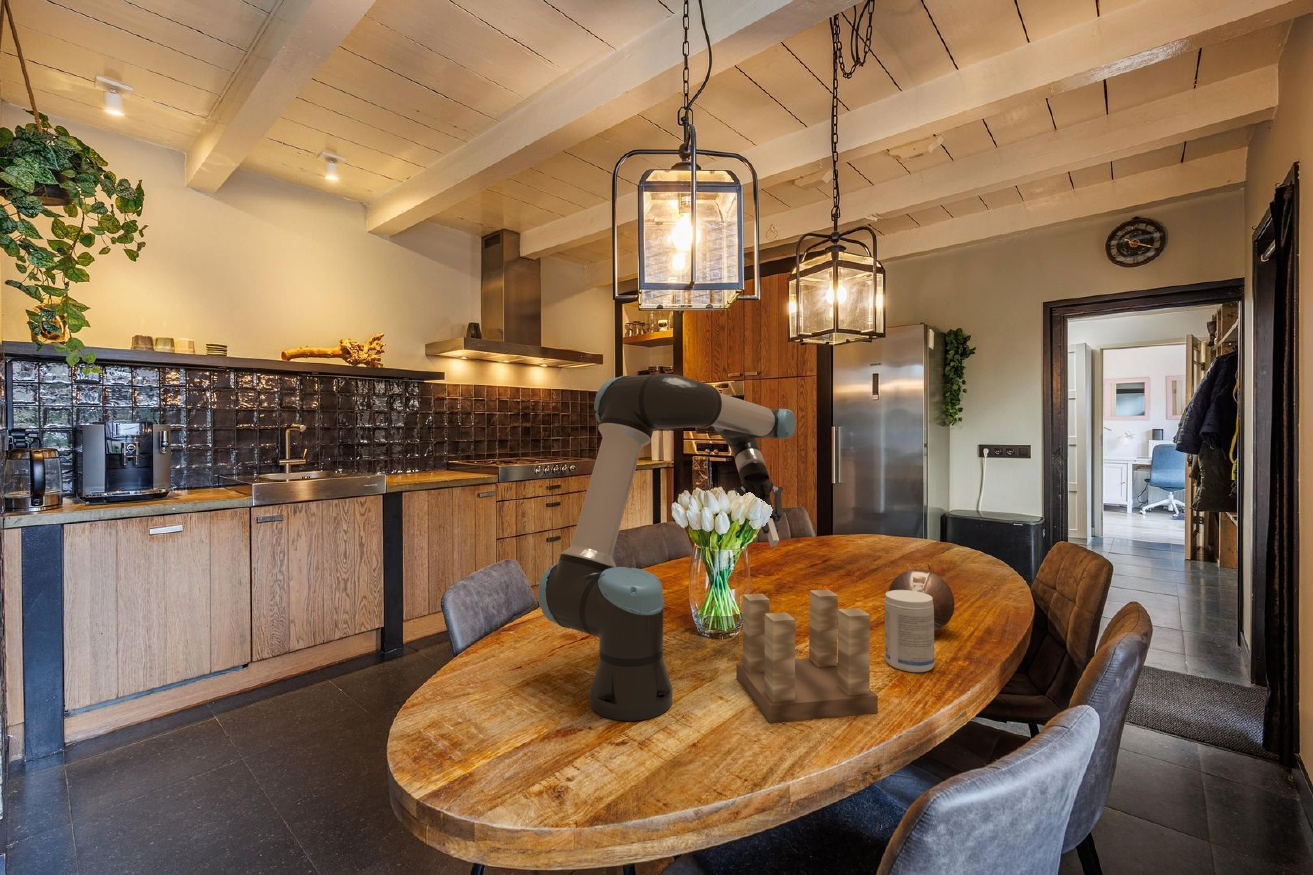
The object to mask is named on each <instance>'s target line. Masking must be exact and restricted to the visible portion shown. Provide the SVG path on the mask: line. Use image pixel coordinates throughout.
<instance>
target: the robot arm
mask: <svg viewBox="0 0 1313 875" xmlns="http://www.w3.org/2000/svg"><path fill="white" fill-rule="evenodd" d="M593 405H594V406H593V409H594V411H595V418H596V421H597V422H598V427H597V428H598V432H600V435H601V437H602V438H601V443H600V445H599V449H598V452H597V455H596V456H597V457H596V460H595V463H594V466H593V470H592V473H591V475H590V476H591V477H590V479H589V483H588V487H587V490H586V493H585V497H584V501H583V504H582V507H581V511H580V514H579V517H578V520H577V523H576V524H577V525H576V526H575V527H576V529H575V531H574V535H573V537H572V542H571V545H570V546H569V547H568V548H566V549H565V550H563V551H561V553H560V556H559V559H558V562H557V563H555V564H553V565H551V566H549V567H548V569H547V570H545V571H544V572H543V574H542V576H541V578H540V580H539V584H538V588H537V602H538V605H539V607H540V609H541V612H542V614H543V616H544V617H545V619H547V620H549V622H551V623H555V624H556V625H558V626H560V627H562V628H564V629H572V630H574V631H578V632H581V633H584V634H587V635H591V636H594V637H597V638H599V640H598V641H599V642H598V643H599V645H598V646H599V657H598V658H599V660H598V664H597V667H596V668H595V672H594V676H593V678H592V682H591V685H590V688H589V705H590V707H591V709H592V711H594V712H595V713H596V714H598V715H600V716H602V717H605V718H607V719H610V720H616V721H617V720H618V721H624V722H626V721H627V722H628V721H629V722H632V721H635V722H636V721H642V720H649V719H652V718H655V717H657V716H658V717H659V716H660V715H663V714H664V713H665V712H667V711H668V710H670V707H671V706H672V705H673V700H674V699H673V696H674V695H673V692H674V691H673V686H672V683H671V680H670V677H669V674H668V670H667V667H666V664H665V660H664V607H665V600H664V596H663V593H664V592H663V585H662V582H661V580H660V579H659V578H658V577H657V575H655V574H654V573H652V572H650V571H647V570H644V569H642V568H637V567H627V566H617V565H616V562H615V561H614V559H613V555H614V551H615V547H616V543H617V539H618V537H619V533H620V529H621V525H622V521H623V519H624V518H623V517H624V513H625V509H626V507H627V503H628V498H629V495H630V492H631V487H632V483H633V480H634V477H635V473H636V469H637V467H638V462H639V458H640V454H641V450H642V448H644V447H646V446H647V445H649V444H650V443H651V441H652V437H653V433H654V430H671V429H672V430H673V429H681V428H683V429H684V428H695V429H706V428H709V427H712V428H713V429H714V431H715V432H717V433H718V435H719V436H720V437H721V438H722V439H723V441H724V442H725V443H726V444H727V445H728V446H727V447H729V448H730V450H731V452H732V455H733V458H734V462H735V465H736V469H737V472H738V476H739V478H740V483H741V487H736V489H735V492H737V493H739V494H740V496H743V495H744V494H745V493H748V492H751V493H753V494H754V495H755V496H756V497H758V498H760V499H762V500H763V501H765V502H766V503H767V504H768V505H771V507H772V509H773V511H772V514H771V516H770V520H769V521H768V522H767V523H766V525H765V526H764V527H762V528H761V530H762V533H763V534H765V535H766V537H767V540H768V543H769V547H770V548H773V547H774V548H775V547H777V546H778V544H779V542H780V538H779V535H778V532H779V530H780V528H779V525H778V522H780V520H781V518H782V516H783V507H782V506H783V505H782V492H783V490H784V488H783V486H778V487H776V486H774V483H773V481H771V479H770V474H769V472H768V468H767V467H766V462H765V460H764V457H763V454H762V451H761V449H760V448H761V447H760V445H759V441H758V439H771V440H772V439H776V440H777V439H778V440H781V439H783V440H784V439H790V438H792V437H793V436H794V433H795V431H796V424H797V422H796V417H795V414H794V413H793V411H792V410H791V409H787V408H786V409H785V408H778V409H777V408H770V407H768V406H767V407H765V406H762V405H760V404H757V403H754V402H749V401H747V400H744V399H741V398H737V397H733V396H730V395H727V394H724V393H721V392H720V391H719V390H718V388H716V387H715V386H713V385H711V384H708V383H705V382H703V381H699V380H696V379H692V378H690V377H685V376H683V375H682V376H681V375H679V374H671V373H656V374H644V375H643V374H642V375H621V376H618V377H614V378H611V379H609V380H607V381H605V382H604V383H603V384H602V385H601V386H600V388H599V389H598V390H597V393H596V394H595V399H594V404H593ZM771 492H772V494H773V497H774V498H773V503H772V500H771V497H770V496H771ZM773 504H774V505H773Z"/></svg>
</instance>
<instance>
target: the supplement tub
mask: <svg viewBox="0 0 1313 875" xmlns="http://www.w3.org/2000/svg"><path fill="white" fill-rule="evenodd" d="M884 597H885V598H884V644H885V646H884V648H885V651H884V652H885V654H884V655H885V656H884V657H885V662H887V664H888V665H890V666H891V667H893V668H895V669H897V670H900V671H906V672H908V673H909V672H910V673H924V672H925V673H926V672H928V671H931V670H933V668H934V667H935V631H934V606H933V598H932V597H931V596H930V595H928V594H925V593H922V592H917V591H910V590H893V591H889V592H888V591H886V593H885V595H884Z"/></svg>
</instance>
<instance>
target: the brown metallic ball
mask: <svg viewBox="0 0 1313 875" xmlns="http://www.w3.org/2000/svg"><path fill="white" fill-rule="evenodd" d="M893 590H910V591H917V592H922V593H925V594H928V595H930V596H931V597H932V598H933V606H934V632H937V631H939V630H942V629H943V628H944V627H946V626H947V624H948V623H949V622H950V621H951V619H952V617H953V615H954V611H955V605H956V604H955V598H954V594H953V592H952V590H951V587H950V586H949V585H948V583H947V582H946V581H945V580H944V579H943V578H942V577H940V576H939V575H938V574H936V573H934V572H931V571H928V570H925V569H920V568H919V569H910V570H906V571H904V572H902V573H900V574H899V575H897V576H896V577H895V578H894V579H893V580H892V582H891V583H890V585H889V588H888V591H887V592H889V591H893Z"/></svg>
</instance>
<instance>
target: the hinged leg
mask: <svg viewBox="0 0 1313 875" xmlns="http://www.w3.org/2000/svg"><path fill="white" fill-rule="evenodd" d="M838 603H839V595H838V594H836V593H835V592H833V591H831V590H830V589H813V590H809V627H808V628H809V634H808V635H809V636H808V637H809V640H808V641H809V642H808V644H809V645H808V646H809V647H808V658H809V659H810V660H811V661H812V662H813V663H814V664H815V665H816V666H817V667H828V666H837V663H838V624H837V623H838V609H839V607H838V606H839V604H838Z"/></svg>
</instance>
